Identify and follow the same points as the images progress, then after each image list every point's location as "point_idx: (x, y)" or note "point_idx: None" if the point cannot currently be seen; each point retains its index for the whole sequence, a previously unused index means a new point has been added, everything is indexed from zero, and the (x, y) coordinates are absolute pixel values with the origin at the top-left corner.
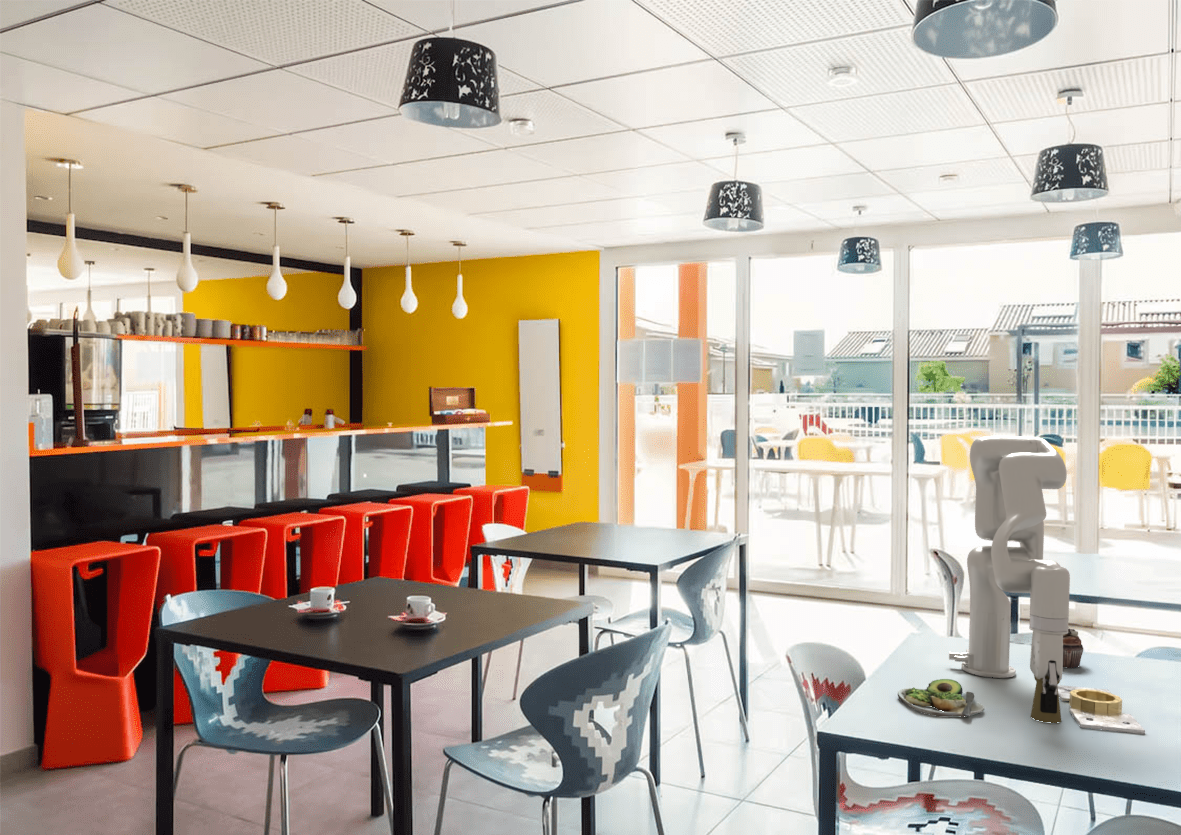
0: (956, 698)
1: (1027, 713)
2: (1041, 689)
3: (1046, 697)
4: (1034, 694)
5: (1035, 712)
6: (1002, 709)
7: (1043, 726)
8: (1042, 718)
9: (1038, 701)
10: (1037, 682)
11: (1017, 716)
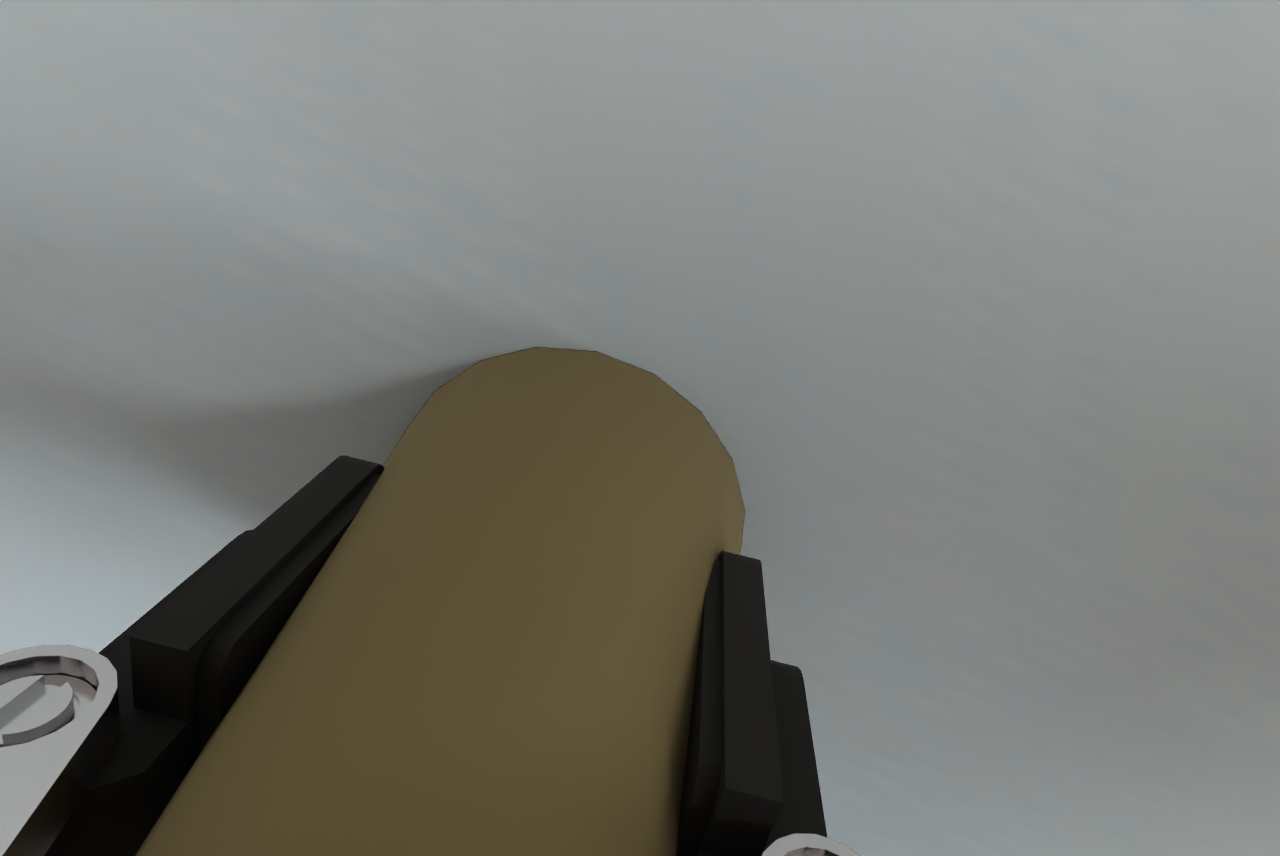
0: None
1: (783, 387)
2: (221, 740)
3: (114, 657)
4: (538, 574)
5: (466, 404)
6: (990, 54)
7: (254, 361)
8: (401, 439)
9: (375, 521)
10: (256, 851)
11: (627, 173)
